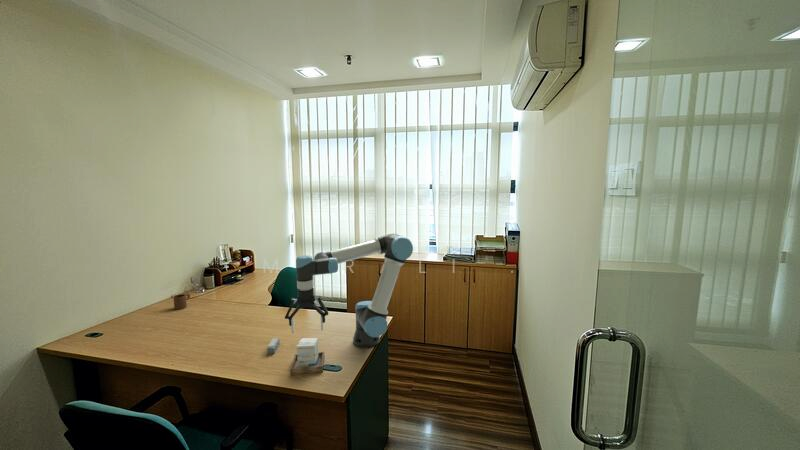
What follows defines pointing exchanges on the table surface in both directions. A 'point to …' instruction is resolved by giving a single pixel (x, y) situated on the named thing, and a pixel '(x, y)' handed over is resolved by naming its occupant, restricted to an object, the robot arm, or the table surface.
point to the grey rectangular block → (273, 346)
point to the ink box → (307, 352)
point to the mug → (181, 301)
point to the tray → (310, 369)
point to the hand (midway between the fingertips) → (307, 330)
